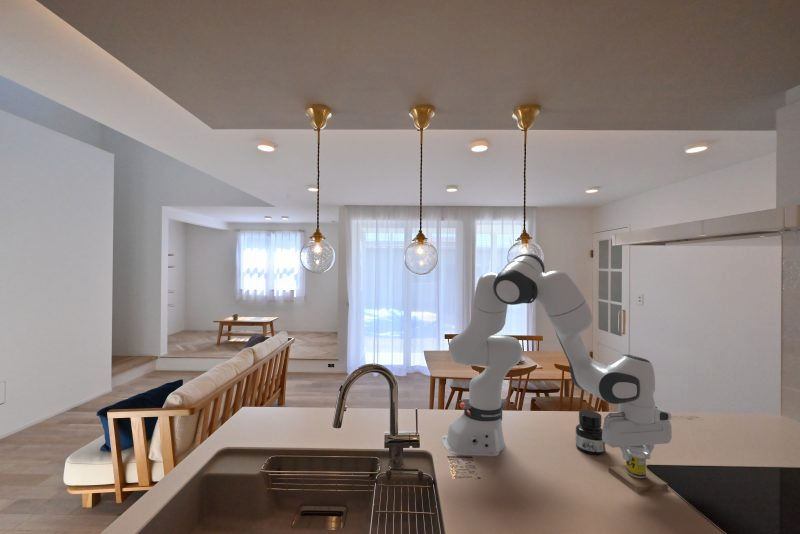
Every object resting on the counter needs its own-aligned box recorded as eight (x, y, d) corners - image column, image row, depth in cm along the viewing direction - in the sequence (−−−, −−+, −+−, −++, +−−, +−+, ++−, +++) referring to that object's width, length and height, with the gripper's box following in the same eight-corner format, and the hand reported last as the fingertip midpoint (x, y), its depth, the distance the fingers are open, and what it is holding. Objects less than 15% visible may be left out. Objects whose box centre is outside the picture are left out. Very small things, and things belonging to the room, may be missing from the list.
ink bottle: (571, 449, 116) (571, 413, 117) (577, 439, 123) (577, 406, 123) (603, 459, 110) (603, 422, 110) (608, 448, 117) (608, 413, 117)
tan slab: (637, 494, 93) (637, 487, 93) (608, 473, 103) (608, 467, 103) (667, 491, 95) (667, 483, 95) (636, 470, 105) (636, 464, 105)
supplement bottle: (622, 469, 101) (622, 441, 102) (637, 468, 102) (637, 440, 102) (634, 479, 97) (634, 449, 97) (650, 478, 97) (650, 449, 97)
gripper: (613, 417, 95) (613, 467, 94) (676, 414, 98) (676, 462, 97) (596, 408, 101) (596, 455, 101) (656, 405, 104) (656, 451, 104)
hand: (636, 459), depth 99 cm, fingers closed on supplement bottle, 5 cm apart
